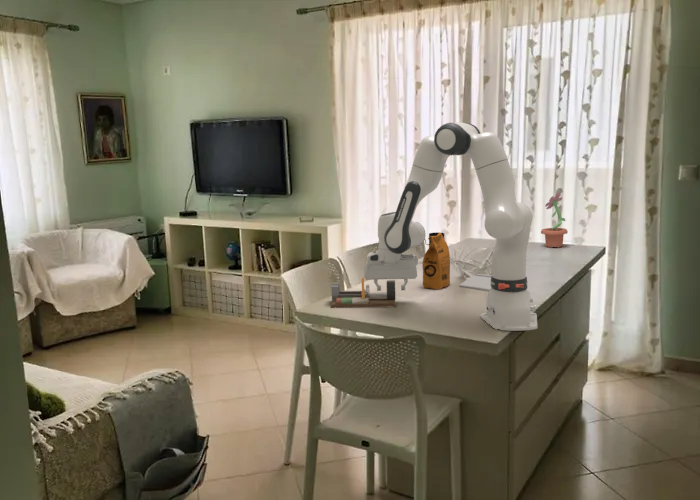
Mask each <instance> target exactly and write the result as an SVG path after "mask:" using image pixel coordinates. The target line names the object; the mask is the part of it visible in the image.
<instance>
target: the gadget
mask: <svg viewBox="0 0 700 500" xmlns="http://www.w3.org/2000/svg"><path fill="white" fill-rule="evenodd" d="M491 276H492V274H489V273H487V274H486V273H479V274H478V273H475V274H471V276H469V277H468V278H467V279H465V280H464V281H462V283H460V284H459V288H465V289H471V290H473V289H474V290H478V291H479V290H480V291H484V292H489V291H490V289H491V288H492V287H491Z"/></svg>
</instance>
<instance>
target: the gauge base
mask: <svg viewBox="0 0 700 500" xmlns="http://www.w3.org/2000/svg"><path fill="white" fill-rule="evenodd" d="M340 283H341V282H338V281H337V282H333V283H332V285H331V287H330V288H331V304H330V308H332V309H333V308H334V309H335V307H336V308H337V309H339V308H395V307H396V298H395V299H369V297H366V294H365V298H362V294H361V293H362V290H346V291H345V290H341V287H340V286H341V285H340ZM365 293H366V291H365Z"/></svg>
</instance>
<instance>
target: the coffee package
mask: <svg viewBox="0 0 700 500" xmlns="http://www.w3.org/2000/svg"><path fill="white" fill-rule="evenodd" d="M437 233H438V235H437V236H430V237H429V236H428V238H427V240H428V241H429V240H431V243H430V245H428V248H427V250H426V252H425V253H424V254H425V255H424V254H423V258H422V285H423V288H424V289H429V290H439V291H440V290H442V289H443V288H444V287H445V288H446V287H448V286H449V285H450V284H451V278H450V277H451V260H450V259H451V258H450V249H449V246H448V243H447V241H446V238H445V236H444V237H443V236H442V233H443V232H437ZM444 238H445V239H444Z"/></svg>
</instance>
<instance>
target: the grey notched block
mask: <svg viewBox="0 0 700 500" xmlns="http://www.w3.org/2000/svg"><path fill="white" fill-rule="evenodd" d="M365 291H366V293H365V294H366V297H369V299H395V300H396V279H386V291H385V292H383V291H382V292H379V291H377V292H370V291H371V289H370V284H366V285H365ZM361 294H362V293H361Z"/></svg>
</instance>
